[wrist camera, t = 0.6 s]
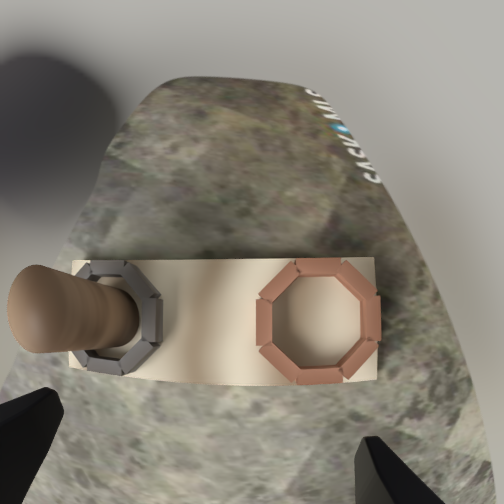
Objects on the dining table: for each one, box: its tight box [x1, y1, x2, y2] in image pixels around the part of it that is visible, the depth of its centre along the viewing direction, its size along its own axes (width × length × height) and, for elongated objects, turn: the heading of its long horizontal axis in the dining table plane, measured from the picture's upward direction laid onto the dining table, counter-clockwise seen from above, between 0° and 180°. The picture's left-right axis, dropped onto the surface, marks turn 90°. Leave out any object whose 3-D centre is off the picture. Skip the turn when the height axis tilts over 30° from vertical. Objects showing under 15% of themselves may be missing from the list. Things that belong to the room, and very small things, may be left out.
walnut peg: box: [7, 265, 140, 353], centre depth 17 cm, size 4×4×9 cm
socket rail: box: [69, 257, 381, 386], centre depth 21 cm, size 23×9×3 cm, turn 90°
